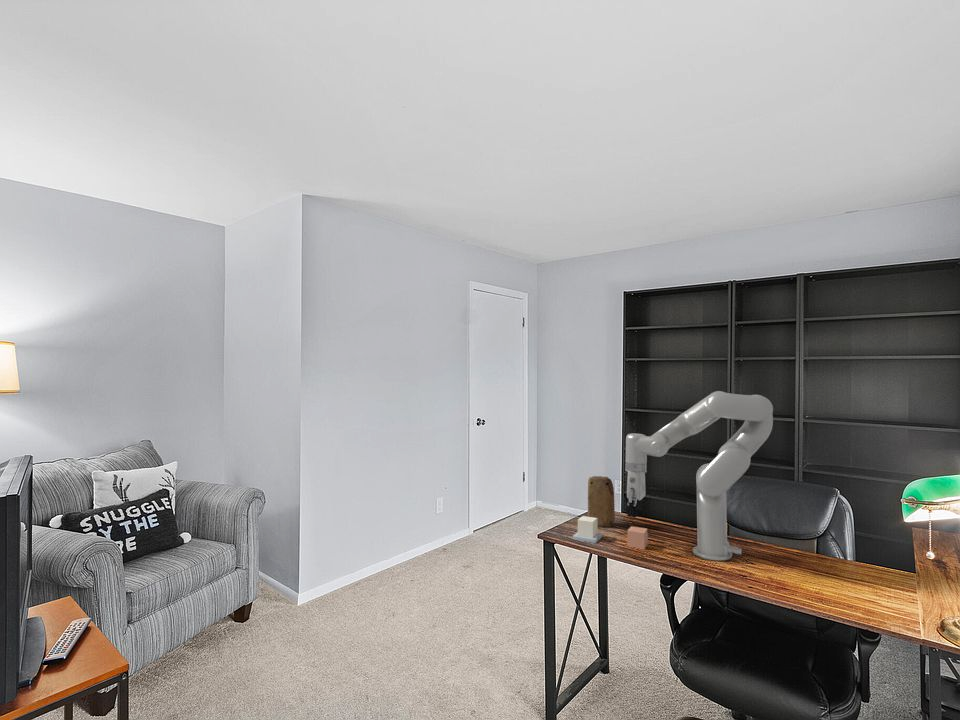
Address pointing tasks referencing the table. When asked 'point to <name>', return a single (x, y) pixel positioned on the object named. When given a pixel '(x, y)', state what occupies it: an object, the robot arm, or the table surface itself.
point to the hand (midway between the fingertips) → (635, 513)
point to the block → (601, 500)
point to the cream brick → (587, 526)
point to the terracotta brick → (637, 537)
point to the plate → (587, 538)
